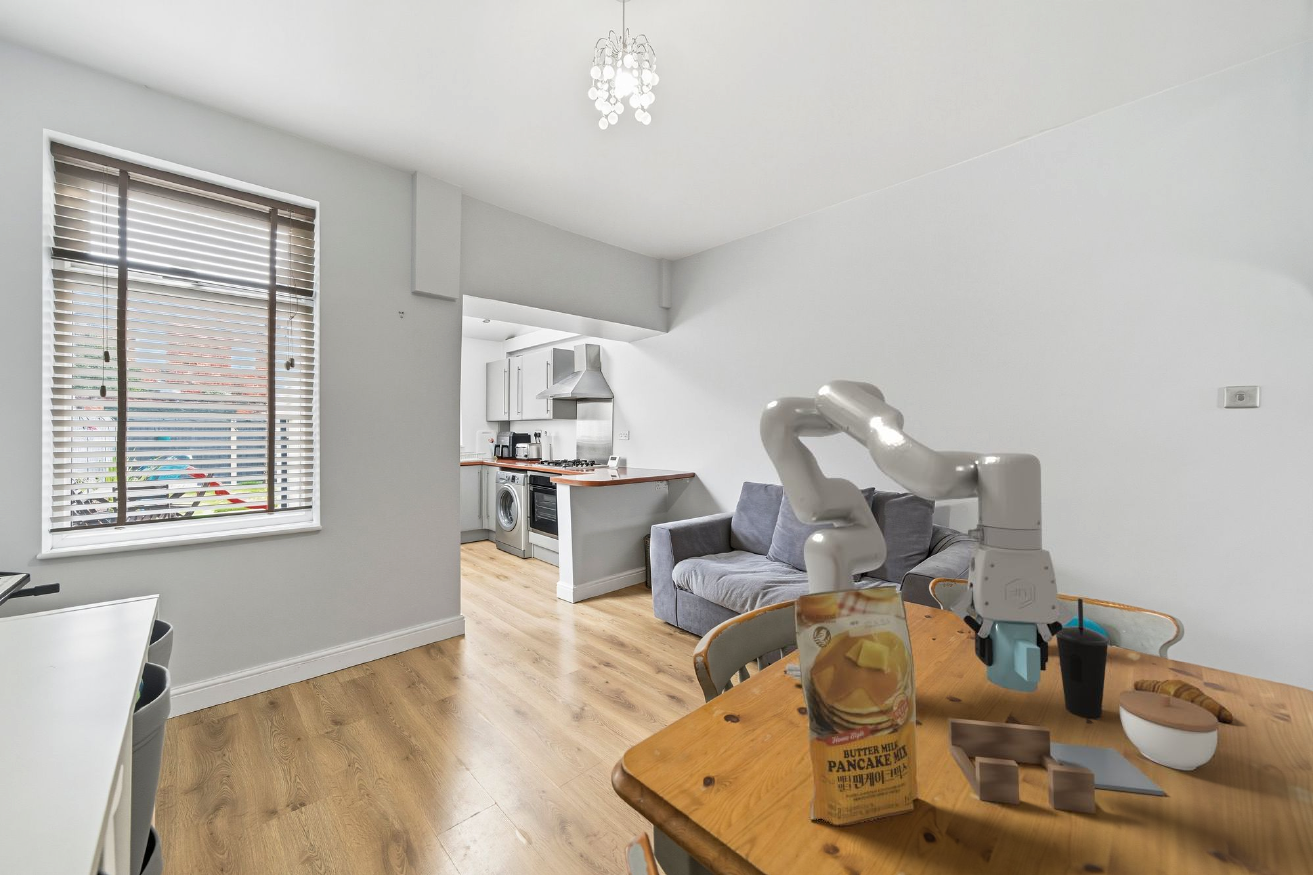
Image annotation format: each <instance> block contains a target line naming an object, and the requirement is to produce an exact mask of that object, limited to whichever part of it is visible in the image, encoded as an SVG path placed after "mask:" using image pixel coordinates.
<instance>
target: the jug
mask: <svg viewBox="0 0 1313 875" xmlns="http://www.w3.org/2000/svg"><path fill="white" fill-rule="evenodd" d="M989 637H990V638H991V639H992V652H993V665H991V666H986V665H985V668H986V669H985V672H986V673H985V674H986V675H985V676H986V679H987V681H989V682H991V684H993V685H996V686H997V687H1000V688H1003V689H1005V690H1010V691H1014V692H1021V693H1030V692H1035V691H1036V690H1038V683H1042V682H1041V679H1042V678H1041V671H1042V670H1040V648H1039V647H1037V627H1036V624H1034V623H1018V622H1002V621H994V622H993V625H992V627H991V629H990V631H989Z"/></svg>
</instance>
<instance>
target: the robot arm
mask: <svg viewBox="0 0 1313 875" xmlns="http://www.w3.org/2000/svg"><path fill="white" fill-rule="evenodd" d="M904 425H905V418H904V415H903V413H902V412H901V411H900V410H899V409H897V408H896V407H894V406H892V405H890V404H888V403H887V402H886V399H885V396H884V394H883V392H882V391H881V390H880V389H879V388H878V387H877V386H875V385H874V384H873V383H871V382H870V383H868V382H864V381H863V382H862V381H855V380H854V381H853V380H845V379H838V380H832V381H828V382H827V383H826V382H825V383H824V384H823V385H822V386H820V388H819V389H818V390H817V392H816V394H815V397H814V398H813V397H812V398H811V397H803V396H801V397H800V396H784V397H783V396H782V397H778V398H775V399H773V400H771V401H770V402H769V403H768V404H767V405H766V406H764V409H763V411H762V413H761V417H760V421H759V436H760V439H761V442H762V445H763V448H764V450H765V452H766V454H767V456H768V457H769V460H770V461H771V462H772V464H773V466H774V468H775V470H776V473H777V474H778V478H779V481H780V483H781V486H782V487H783V490H784V492H785V495H786V498H787V500H788V502H789V505H790V507H791V509H792V511H793V514H794V515H795V518H797V520H798V521H799V522H800V523H802V524H805V525H809V526H816V525H828V524H833V527H831V526H830V527H826V528H822V529H819V530H816V531H814V532H813V533H812V534H810V535H809V536H808V538H807V539H806V541H805V543H804V546H803V558H804V563H805V564H804V565H805V569H806V573H807V580H808V591H809V594H813V593H819V592H828V591H835V590H843V589H858V588H857V585H856V583H855V581H854V577H853V575H854V576H855V575H858V574H862V573H866V572H871V571H875V570H877V569H879V568H880V567H881V566H883V564H884V563H885V561H886V559H887V558H886V557H887V554H888V553H887V552H888V551H887V543H886V539H885V537H884V534H883V533H882V530H881V529H880V526H879V525H878V523H877V520H876V518H875V516H874V514H873V512H872V510H871V508H870V506H869V504H868V502H867V499H866V498H865V496H864V495H863V492H862V490H860V489H859V487H858V486H857V485H856V484H855V483H854V482H852V481H850V480H849V479H845V478H841V477H827V476H825V474H824V473H823V471H822V469H821V468H820V466H819V463H818V461H817V459H816V457H815V455H814V454H813V452H812V451H811V450H810V449H809V448H808V447H807V445H805V444H804V443H803V442H802V441H801V440H800V438H799V437H803V438H804V437H806V438H807V437H811V438H812V437H813V438H815V437H816V438H819V437H820V438H822V437H830V436H833V435H837V434H840V433H845V434H846V435H848V437H850V438H852V439H854V441H856V442H857V443H859V444H860V445H862V446H863V447H865V448H866V449H868V453H869V455H870V456H871V460H873V462H874V464H875V466H877V468H878V469H879V470H880V471H881V472H882V473H883V474H884V475H885V476H887V477H888V478H889V479H890V480H892V481H893V482H895V483H896V484H898V485H899V486H901V487H902V488H903V489H905V490H906V491H908V492H909V493H911V494H913V495H915V496H916V497H919V498H922V499H924V500H927V501H932V502H938V501H948V500H963V499H975V498H977V505H978V506H977V514H978V515H977V518H978V521H977V522H978V523H977V524H976V528H973V529H968V530H967V536H968V538H969V539H970V540H971V539H973V540H976V542H977V543H978V544H974V545H973V548H972V552H971V557H970V561H969V568H968V579H967V590H966V591H965V592H964V593H963V594H961V595H960V596H959V597H958V598H957V599H956V600H955V601H954V602H952V603H951V604H950V606H949V608H950V610H951V611H952V612H953V613H954V614H955V615H956V616H957V617H959V618H960V619H961V620H962V622H964V623H965V624H966V625H967V626H968V627H969V628H970V629H971V630H972V631H973V632H974V652H975V656H976V657H977V658H978V659H979V660H980V662H982V663H983V664H984V665H985V667H986V666H991V665H993V652H992V639H991V638H990V637H989V631H990V629H991V627H992V625H993V622H994V621H1002V622H1018V623H1034V624H1036V627H1037V647H1039V648H1040V670H1041V671H1044V672H1045V671H1046V670H1047V666H1046V665H1047V663H1049V643H1051V642H1052V641H1053V637H1054V636H1056V635H1055V634H1056V633H1058V632H1059V631H1060V630H1061V629H1062V628H1063V627H1066V625H1067V624H1068V623H1070V622H1071V621H1072V620H1073V619H1074V618H1075V615H1074V613H1073V612H1071V611H1070V610H1069V609H1068V608H1067V607H1066V606H1065V605H1064V604H1063V603H1062V602H1061V601H1060V600H1059V597H1058V596H1059V595H1058V594H1059V593H1058V587H1057V580H1056V579H1057V578H1056V573H1055V569H1054V564H1053V560H1052V556H1051V553H1050V551H1049V550H1046V549H1043V532H1042V530H1043V529H1042V525H1043V524H1042V523H1043V522H1042V516H1043V515H1042V468H1041V462H1040V460H1039V458H1038V457H1037V456H1035V455H1033V454H1031V453H1029V454H1028V453H1020V452H1019V453H1017V452H1015V453H1013V452H1012V453H1011V452H1010V453H1009V452H1005V453H1004V452H1003V453H1002V452H997V453H996V452H995V453H986V454H985V453H980V452H972V451H962V450H961V451H960V450H958V451H954V450H953V451H952V450H939V451H937V450H936V451H935V450H934V449H931V448H929V447H928V446H926V445H925V444H923V443H921V442H919V441H918V440H916V439H914V438H913V437H911V436H910V435H908V434H907V433H906V432H905V431H903V428H904ZM968 607H969V609H971V610H973V611H975V612H976V613H975V615H974V617H972V616H971V615H970V614H969V613H968V612H967V608H968ZM786 675H791V676H792V675H793V679H794V680H801V672H800V664H799V665H798V664H797V665H796V664H794V663H786Z"/></svg>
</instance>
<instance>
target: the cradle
mask: <svg viewBox="0 0 1313 875" xmlns="http://www.w3.org/2000/svg"><path fill="white" fill-rule="evenodd" d="M947 720H948V723H947V726H948V751H949V753H950V755H951V756H952V757H953V760H954V761H955V763H956V764H957V765H958V767H959V768H960V770H961V772H962V774H963V775H964V776H965V778H966V780H967V781H968V783H969V785H970V787H972V789H973V791H974V792H975V794H976V796H977V797H978V799H979V800H980V801H986V802H987V801H988V802H994V801H995V802H996V803H1004V804H1012V805H1020V773H1019V768H1020V767H1019V765H1018V764H1017V763H1025V764H1034V765H1035V764H1036V765H1041V766H1042V767H1043V768H1044V769H1045V770H1046V771H1047V780H1048V781H1047V787H1048V788H1047V789H1048V793H1047V794H1048V803H1049V805H1050V806H1051V807H1052V808H1053V809H1054V810H1060V811H1061V810H1063V811H1071V812H1080V813H1087V814H1096V790H1095V789H1096V788H1095V783H1094V773H1093V772H1092V771H1090V770H1089V769H1088V768H1080V767H1070V766H1060V765H1059V764H1058V763H1057V761H1056V760H1055V759H1054V758H1053V757H1052V756H1051V755H1050V742H1051V731H1050V730H1049V729H1048V728H1047V727H1046V726H1039V725H1038V726H1037V725H1029V724H1028V725H1027V724H1017V723H1006V722H997V721H996V722H995V721H986V720H985V721H984V720H983V721H982V720H973V719H963V718H952V717H948V718H947ZM970 758H974V759H975V766H974V764H973V763H972V761H971V760H970Z"/></svg>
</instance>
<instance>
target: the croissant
mask: <svg viewBox="0 0 1313 875" xmlns="http://www.w3.org/2000/svg"><path fill="white" fill-rule="evenodd" d="M1133 689H1134V690H1137V691H1148V692H1154V693H1160V694H1165V695H1168V696H1172V697H1176V698H1179V699H1182V700H1185V701H1188V702H1191V703H1193V704H1195V705H1198V706H1200V707H1202V708H1204V709H1206V710H1208V711H1209V712H1211V713H1212V714H1213V715H1214V716H1215V717H1216V718H1217V719H1218V722H1221V723H1227V724H1231V723H1232V722H1233V718H1234V717H1233V714H1232V712H1231V711H1229V710H1228V709H1227V708H1226V707H1225V706H1223V705H1222V704H1220V702H1218V701H1217V700H1215V699H1213V697H1210V696H1208V695H1207V694H1205V693H1204V692H1203V691H1202V690H1201V689H1199V687H1196V686H1194V685H1192V684H1190V683H1188V682H1185V681H1183V680H1181V679H1165V680H1156V679H1141V680H1135V681H1134V683H1133Z"/></svg>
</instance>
